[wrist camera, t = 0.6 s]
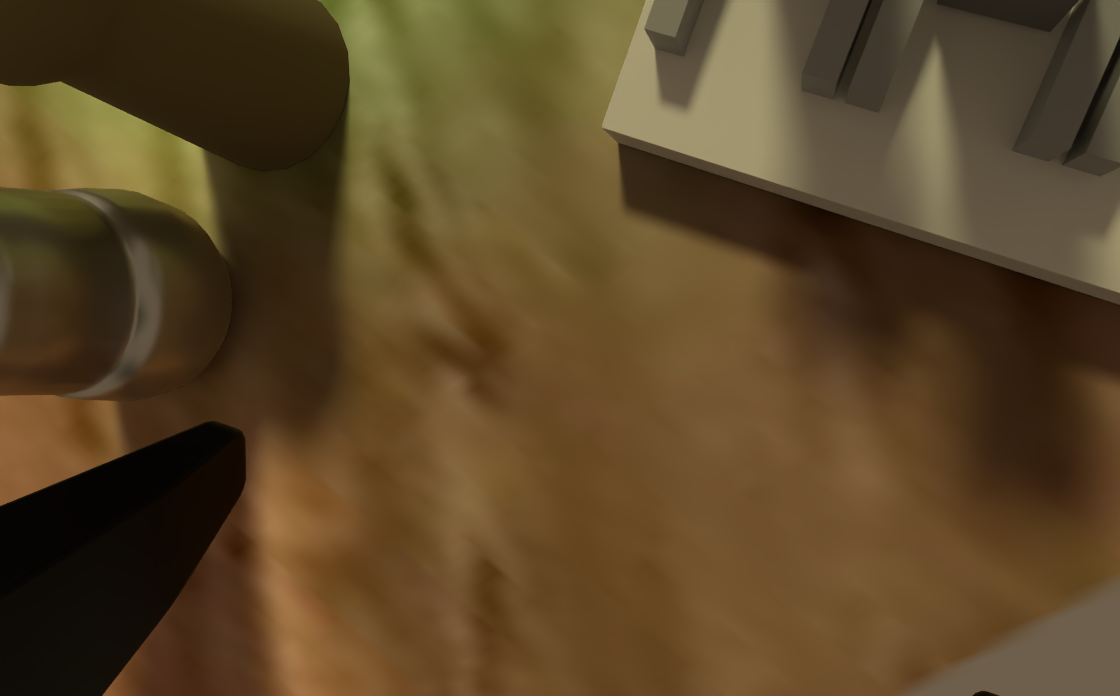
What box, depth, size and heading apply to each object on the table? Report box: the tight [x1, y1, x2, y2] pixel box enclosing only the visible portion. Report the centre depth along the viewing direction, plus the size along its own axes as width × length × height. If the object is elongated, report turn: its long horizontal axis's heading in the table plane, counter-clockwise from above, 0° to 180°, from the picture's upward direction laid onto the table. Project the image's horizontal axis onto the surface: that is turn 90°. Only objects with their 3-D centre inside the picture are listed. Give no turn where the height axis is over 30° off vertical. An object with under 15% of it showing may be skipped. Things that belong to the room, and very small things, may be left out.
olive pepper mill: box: [0, 0, 349, 171], centre depth 21 cm, size 6×6×11 cm
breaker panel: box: [602, 0, 1120, 305], centre depth 19 cm, size 9×16×4 cm, turn 70°
